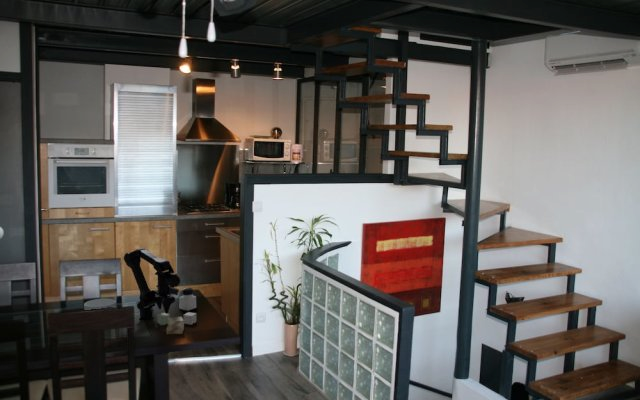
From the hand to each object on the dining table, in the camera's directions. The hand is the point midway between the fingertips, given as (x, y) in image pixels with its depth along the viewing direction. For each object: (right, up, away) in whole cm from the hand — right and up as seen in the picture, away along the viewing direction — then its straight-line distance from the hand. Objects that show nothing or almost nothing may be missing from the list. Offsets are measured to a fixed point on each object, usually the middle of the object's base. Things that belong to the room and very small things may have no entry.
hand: (163, 311), depth 320 cm
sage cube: (0, -7, +1) cm, 7 cm away
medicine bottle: (+7, -4, +27) cm, 28 cm away
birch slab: (+10, -5, -12) cm, 16 cm away
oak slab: (+9, -9, -12) cm, 17 cm away
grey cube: (+14, -7, +2) cm, 16 cm away
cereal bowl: (-39, -5, +13) cm, 42 cm away
